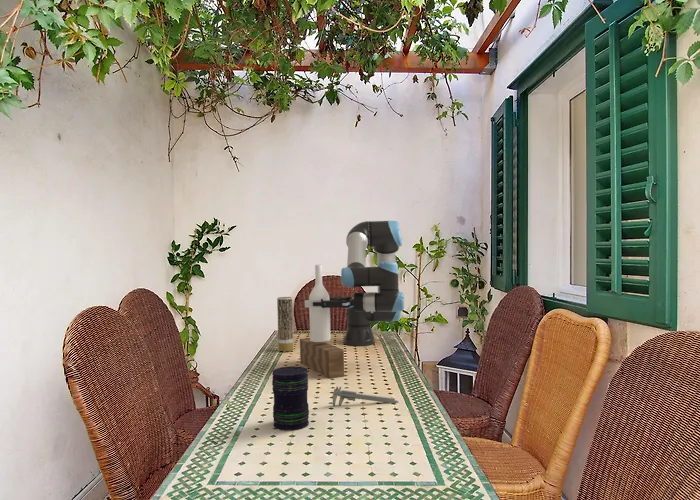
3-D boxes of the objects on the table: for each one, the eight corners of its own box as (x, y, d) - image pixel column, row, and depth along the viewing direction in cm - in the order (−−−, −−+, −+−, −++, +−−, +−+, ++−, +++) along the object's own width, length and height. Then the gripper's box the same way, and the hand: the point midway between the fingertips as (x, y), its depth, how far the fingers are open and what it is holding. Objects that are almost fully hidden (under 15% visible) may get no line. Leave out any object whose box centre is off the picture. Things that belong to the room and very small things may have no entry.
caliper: (333, 407, 160) (332, 386, 159) (332, 406, 161) (332, 385, 160) (398, 403, 162) (398, 383, 162) (398, 402, 163) (397, 382, 163)
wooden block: (300, 362, 219) (299, 338, 219) (313, 361, 222) (313, 337, 222) (329, 378, 192) (328, 351, 192) (344, 376, 195) (343, 349, 195)
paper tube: (294, 349, 248) (293, 296, 247) (291, 352, 241) (290, 298, 240) (280, 349, 248) (279, 296, 248) (277, 352, 241) (275, 298, 241)
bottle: (306, 341, 205) (304, 265, 205) (316, 337, 213) (315, 264, 212) (323, 342, 202) (321, 265, 201) (334, 339, 209) (332, 264, 208)
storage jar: (294, 433, 137) (292, 376, 137) (265, 427, 143) (264, 372, 142) (316, 421, 146) (315, 368, 146) (288, 416, 151) (287, 364, 151)
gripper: (361, 315, 194) (301, 315, 197) (367, 308, 214) (313, 308, 218) (360, 295, 194) (300, 295, 197) (367, 290, 214) (313, 290, 218)
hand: (307, 302), depth 208 cm, fingers closed on bottle, 8 cm apart
